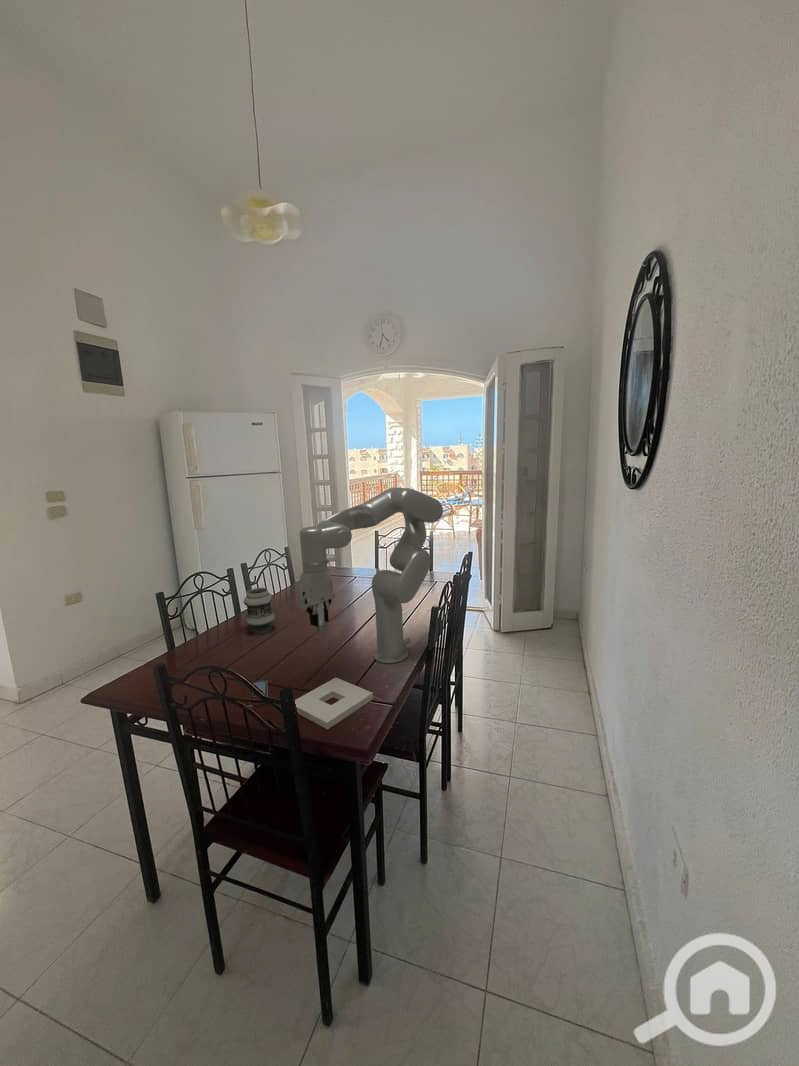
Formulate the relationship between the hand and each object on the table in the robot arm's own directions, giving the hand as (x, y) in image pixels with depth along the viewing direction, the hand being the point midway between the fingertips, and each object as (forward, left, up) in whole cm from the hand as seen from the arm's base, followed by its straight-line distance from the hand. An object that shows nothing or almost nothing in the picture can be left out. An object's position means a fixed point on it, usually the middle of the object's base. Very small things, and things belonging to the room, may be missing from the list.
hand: (319, 622), depth 135 cm
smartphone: (+17, -12, -21) cm, 30 cm away
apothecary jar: (-14, -55, -20) cm, 60 cm away
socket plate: (+7, +12, -20) cm, 24 cm away
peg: (0, 0, -2) cm, 2 cm away
